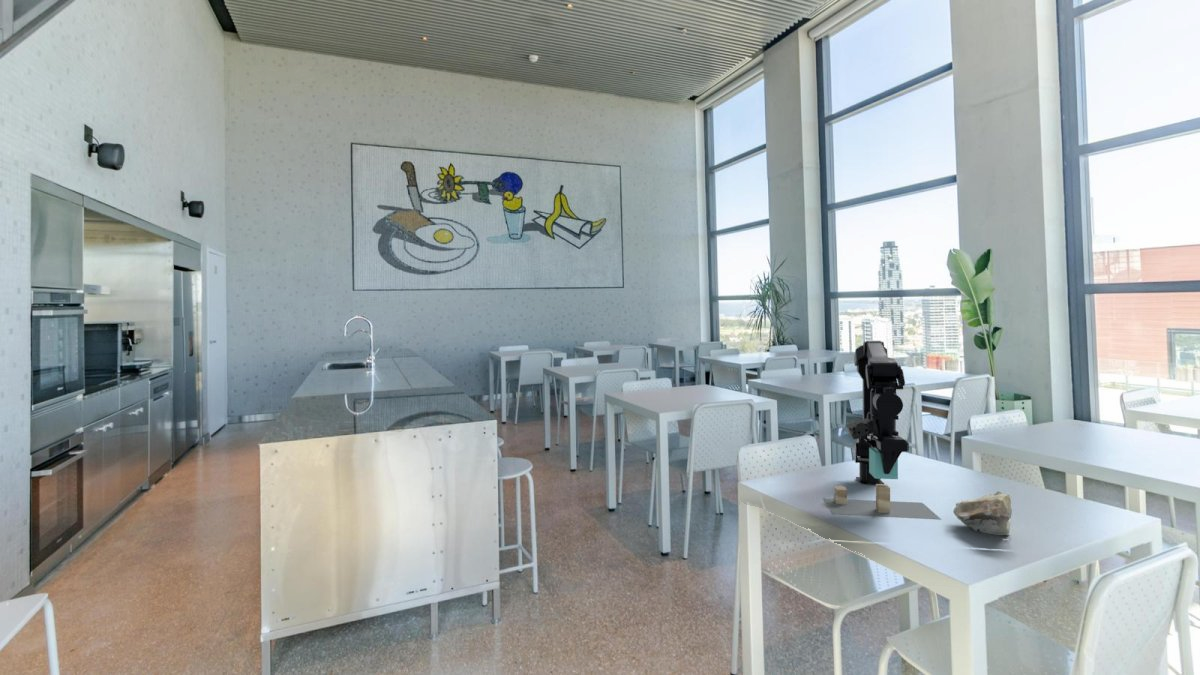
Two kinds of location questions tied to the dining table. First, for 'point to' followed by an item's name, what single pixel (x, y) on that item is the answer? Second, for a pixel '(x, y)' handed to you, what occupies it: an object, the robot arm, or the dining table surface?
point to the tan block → (840, 495)
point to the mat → (870, 510)
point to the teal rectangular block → (880, 466)
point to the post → (882, 498)
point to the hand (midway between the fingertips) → (883, 470)
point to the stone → (986, 513)
